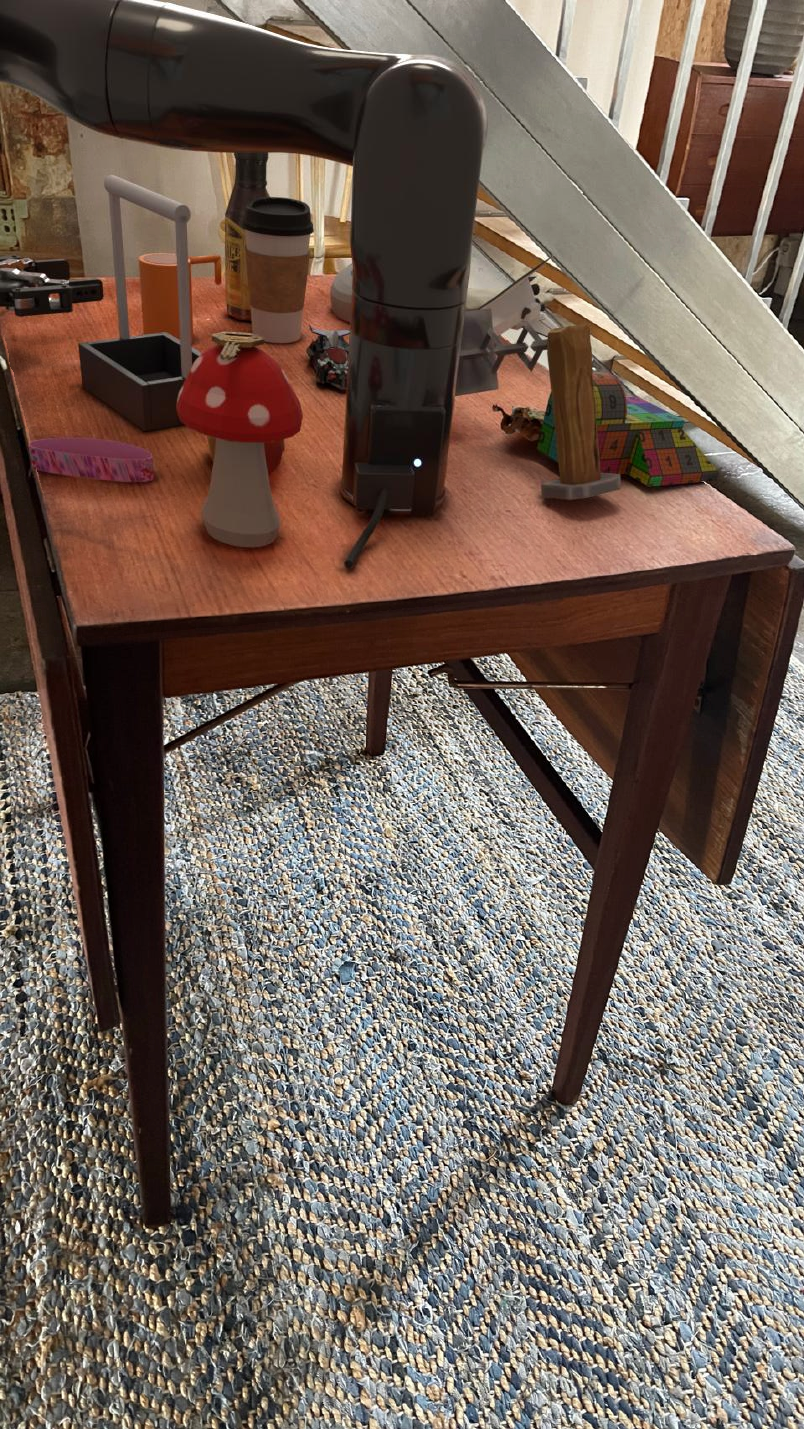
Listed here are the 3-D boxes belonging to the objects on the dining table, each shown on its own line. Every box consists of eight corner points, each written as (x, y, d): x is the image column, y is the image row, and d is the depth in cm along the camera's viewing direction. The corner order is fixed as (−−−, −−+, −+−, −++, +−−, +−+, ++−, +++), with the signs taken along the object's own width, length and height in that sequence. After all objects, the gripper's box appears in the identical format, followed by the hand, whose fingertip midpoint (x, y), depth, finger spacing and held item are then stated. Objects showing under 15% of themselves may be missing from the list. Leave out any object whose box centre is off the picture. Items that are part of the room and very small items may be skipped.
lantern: (380, 492, 112) (572, 501, 89) (358, 328, 107) (557, 291, 83) (436, 480, 116) (634, 485, 92) (417, 321, 111) (623, 284, 87)
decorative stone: (494, 289, 134) (490, 250, 130) (372, 338, 129) (364, 298, 125) (423, 259, 146) (417, 222, 143) (310, 302, 141) (301, 265, 138)
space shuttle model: (457, 319, 114) (510, 393, 116) (564, 239, 127) (609, 306, 130) (383, 384, 126) (432, 450, 129) (487, 305, 140) (530, 365, 142)
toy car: (353, 359, 122) (355, 324, 120) (370, 394, 113) (373, 356, 110) (302, 358, 121) (303, 322, 118) (316, 393, 111) (317, 355, 109)
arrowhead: (376, 277, 143) (540, 272, 149) (375, 302, 145) (537, 296, 151) (401, 304, 134) (575, 297, 140) (400, 331, 136) (571, 323, 142)
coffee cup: (315, 330, 130) (320, 201, 121) (304, 350, 123) (307, 214, 114) (250, 323, 130) (250, 193, 121) (235, 341, 123) (233, 206, 115)
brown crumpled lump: (522, 388, 110) (539, 443, 112) (481, 409, 101) (500, 469, 102) (581, 368, 106) (598, 425, 108) (544, 387, 97) (563, 450, 99)
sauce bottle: (221, 309, 134) (218, 137, 122) (268, 309, 136) (270, 140, 124) (230, 324, 129) (228, 146, 117) (279, 324, 131) (281, 149, 119)
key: (200, 358, 68) (200, 352, 68) (214, 335, 75) (214, 330, 75) (257, 362, 69) (257, 356, 68) (265, 339, 76) (265, 334, 75)
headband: (40, 430, 91) (43, 454, 92) (23, 446, 88) (26, 470, 89) (160, 446, 91) (161, 469, 92) (147, 462, 88) (148, 486, 89)
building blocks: (602, 490, 94) (627, 399, 89) (536, 450, 100) (556, 362, 96) (716, 480, 101) (745, 395, 96) (647, 443, 108) (671, 361, 103)
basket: (234, 415, 104) (231, 202, 92) (144, 431, 99) (129, 207, 87) (168, 373, 112) (158, 173, 101) (82, 386, 107) (60, 176, 95)
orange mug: (158, 349, 119) (153, 266, 113) (135, 335, 122) (129, 254, 117) (234, 339, 124) (233, 260, 119) (210, 326, 128) (208, 248, 122)
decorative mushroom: (157, 532, 82) (145, 341, 73) (225, 497, 88) (222, 318, 79) (257, 571, 78) (258, 375, 69) (321, 532, 84) (329, 347, 75)
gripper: (-48, 270, 97) (111, 258, 106) (-98, 236, 106) (53, 227, 114) (-35, 350, 101) (116, 332, 110) (-84, 311, 110) (61, 297, 119)
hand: (84, 279), depth 112 cm, fingers open, 8 cm apart
